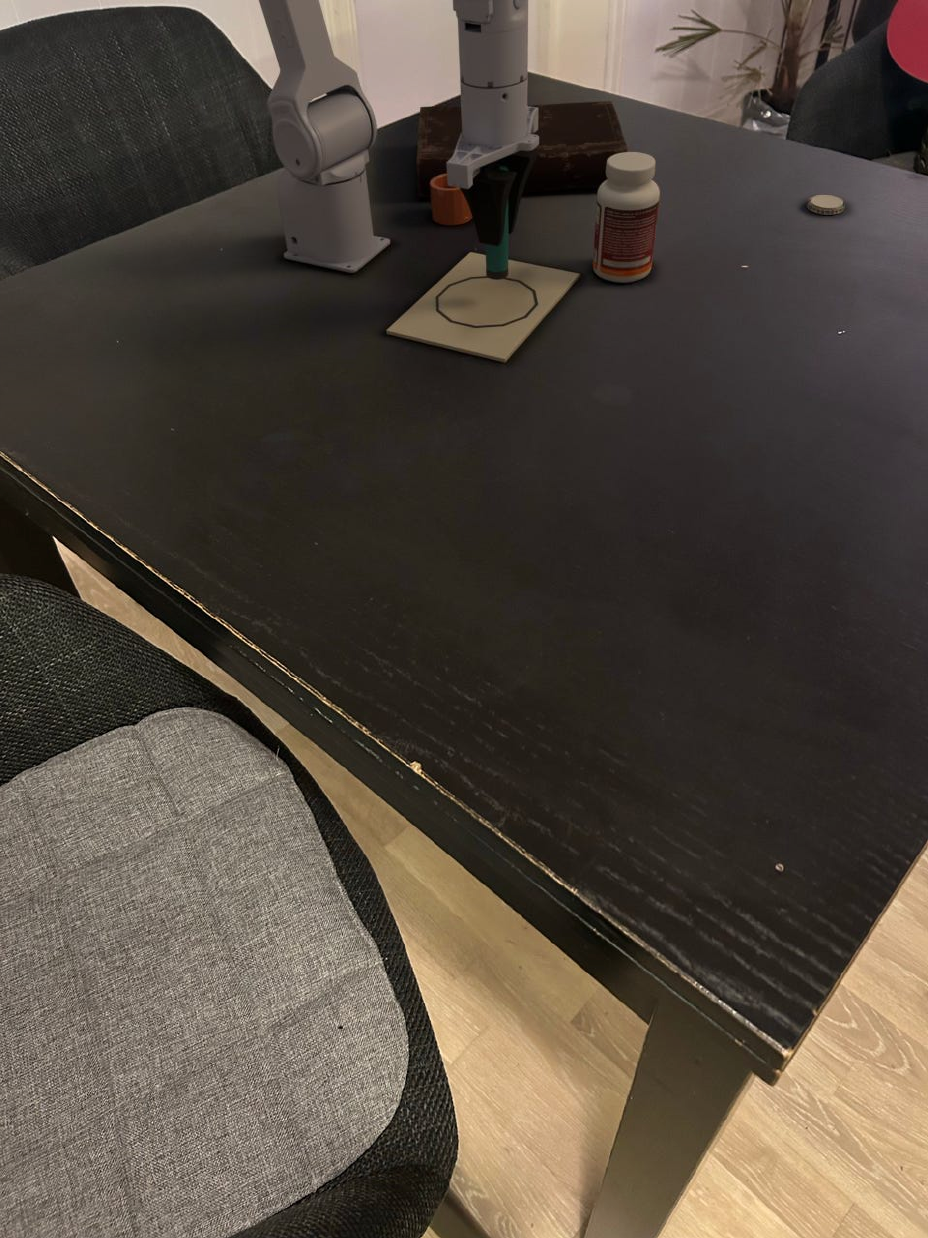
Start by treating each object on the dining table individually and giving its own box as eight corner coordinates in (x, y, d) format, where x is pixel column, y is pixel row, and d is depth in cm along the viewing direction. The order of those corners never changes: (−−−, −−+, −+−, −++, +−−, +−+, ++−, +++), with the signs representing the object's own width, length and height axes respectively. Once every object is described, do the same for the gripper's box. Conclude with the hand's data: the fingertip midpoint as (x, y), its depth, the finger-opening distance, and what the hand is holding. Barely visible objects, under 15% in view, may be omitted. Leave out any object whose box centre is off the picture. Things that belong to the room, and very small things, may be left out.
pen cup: (425, 221, 103) (422, 186, 100) (444, 205, 106) (442, 170, 103) (461, 228, 101) (459, 192, 98) (480, 211, 104) (479, 176, 101)
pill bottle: (663, 272, 92) (678, 162, 84) (618, 290, 90) (628, 178, 82) (624, 251, 96) (634, 143, 87) (580, 268, 94) (586, 159, 85)
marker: (482, 277, 87) (479, 171, 79) (492, 267, 88) (490, 162, 80) (502, 281, 86) (501, 175, 78) (512, 271, 87) (512, 166, 80)
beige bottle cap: (802, 209, 100) (803, 204, 100) (814, 196, 102) (815, 191, 102) (837, 217, 99) (838, 211, 98) (848, 203, 101) (850, 197, 100)
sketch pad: (386, 333, 86) (386, 329, 86) (470, 255, 97) (470, 251, 96) (505, 362, 82) (505, 358, 81) (579, 277, 92) (580, 272, 92)
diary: (625, 192, 106) (629, 147, 102) (419, 202, 106) (415, 158, 103) (607, 135, 118) (610, 93, 115) (423, 144, 119) (420, 103, 115)
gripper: (498, 111, 68) (501, 278, 79) (571, 56, 77) (564, 212, 87) (420, 101, 71) (432, 264, 81) (498, 48, 79) (500, 201, 89)
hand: (496, 236), depth 84 cm, fingers closed on marker, 2 cm apart
